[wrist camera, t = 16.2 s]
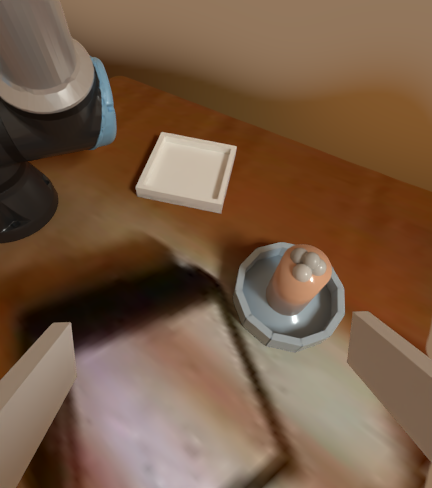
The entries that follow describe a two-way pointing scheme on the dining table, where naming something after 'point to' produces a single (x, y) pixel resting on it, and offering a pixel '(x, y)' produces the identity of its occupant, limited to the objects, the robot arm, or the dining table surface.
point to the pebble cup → (298, 279)
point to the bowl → (274, 324)
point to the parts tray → (187, 172)
